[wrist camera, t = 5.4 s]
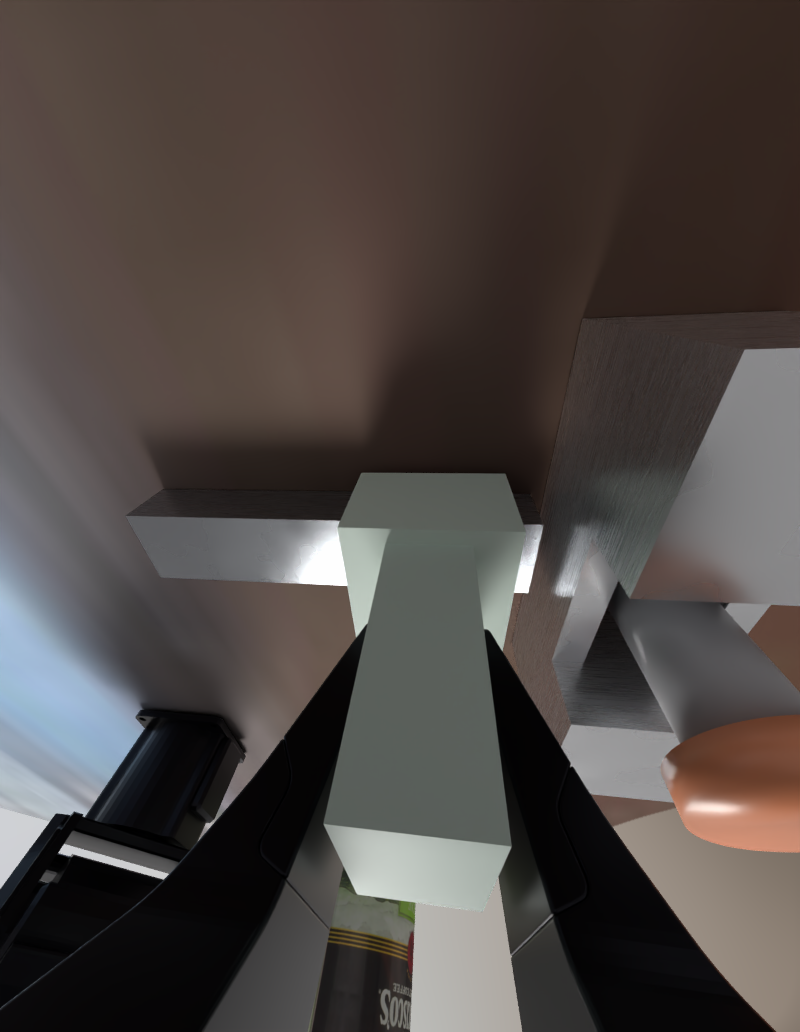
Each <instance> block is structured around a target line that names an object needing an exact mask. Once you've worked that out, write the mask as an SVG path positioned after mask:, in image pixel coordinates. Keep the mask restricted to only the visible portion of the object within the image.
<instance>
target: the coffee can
mask: <svg viewBox="0 0 800 1032" xmlns="http://www.w3.org/2000/svg"><path fill="white" fill-rule="evenodd" d="M414 923H415V903H414V902H407V901H400V900H393V899H386V898H379V897H372V896H364V895H357V893H356V891H355V889H354V887H353V885H352V883H351V881H350V879H349V877H348V874H347V872H346V870H345V868H344V867H343V871H342V876H341V880H340V885H339V890H338V894H337V899H336V903H335V908H334V913H333V917H332V922H331V926H330V928H329V936H328V941H327V945H326V950H325V954H324V959H323V964H322V968H321V973H320V977H319V982H318V987H317V991H316V996H315V1000H314V1005H313V1010H312V1014H311V1019H310V1023H309V1028H308V1032H410V1021H411V1020H410V1019H411V993H412V972H413V949H414Z"/></svg>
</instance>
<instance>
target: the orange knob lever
mask: <svg viewBox="0 0 800 1032" xmlns="http://www.w3.org/2000/svg"><path fill="white" fill-rule="evenodd" d="M608 606H609V610H610V612H611V614H612V616H613V618H614V620H615V622H616V624H617V626H618V628H619V629H620V631H621V633H622V635H623V637H624V639H625V641H626V643H627V645H628V646H629V648H630V650H631V652H632V654H633V656H634V658H635V660H636V662H637V663H638V665H639V667H640V669H641V671H642V673H643V675H644V677H645V679H646V680H647V682H648V684H649V686H650V688H651V690H652V692H653V694H654V696H655V697H656V699H657V701H658V703H659V705H660V707H661V709H662V711H663V713H664V714H665V716H666V718H667V720H668V722H669V724H670V726H671V728H672V730H673V731H674V733H675V735H676V737H677V739H678V741H679V743H680V744H679V745H677V746H676V747H675V748H673V749H672V750H671V751H670V752H669V753H668V754H667V755H666V756H665V757H664V759H663V760H662V763H661V766H660V771H661V775H662V777H663V779H664V781H665V784H666V786H667V788H668V790H669V792H670V795H671V797H672V799H673V801H674V803H675V806H676V808H677V810H678V812H679V814H680V816H681V819H682V821H683V823H684V825H685V827H686V828H687V829H688V830H689V831H690V832H691V833H692V834H694V835H696V836H697V837H699V838H702V839H704V840H706V841H710V842H713V843H716V844H719V845H724V846H728V847H733V848H739V849H748V850H756V851H768V852H800V692H799V691H798V690H797V689H796V688H795V687H794V686H793V685H792V683H791V682H790V681H789V680H788V679H787V678H786V677H785V676H784V675H783V673H782V672H781V671H780V670H779V669H778V668H777V667H776V666H775V664H774V663H773V662H772V661H771V660H770V659H769V658H768V657H767V656H766V654H765V653H764V652H763V651H762V650H761V649H760V648H759V647H758V645H757V644H756V643H755V642H754V641H753V640H752V639H751V638H750V637H749V635H748V634H747V633H746V632H745V631H744V630H743V629H742V628H741V627H740V625H739V624H738V623H737V622H736V621H735V620H734V619H733V618H732V616H731V615H730V614H729V613H728V612H727V611H726V610H725V609H724V608H723V606H722V605H721V604H720V603H719V602H698V601H674V600H651V599H629V597H628V595H627V594H626V592H625V590H624V589H623V587H622V586H621V584H620V585H618V586H617V587H616V588H615V590H614V592H613V594H612V597H611V599H610V601H609V604H608Z"/></svg>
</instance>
